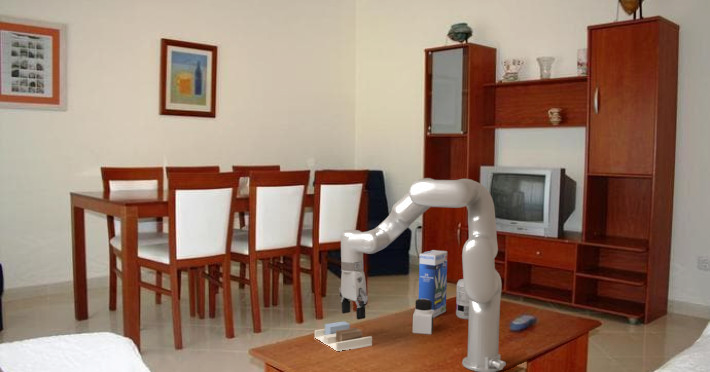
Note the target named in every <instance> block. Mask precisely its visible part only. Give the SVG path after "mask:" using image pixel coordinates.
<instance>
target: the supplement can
mask: <svg viewBox="0 0 710 372" xmlns="http://www.w3.org/2000/svg"><path fill="white" fill-rule="evenodd" d="M455 297H456V299H455V300H456V302H455V304H456V307H455V315H456V316H457V318H459V319H461V320H462V319H463V320H469V301H470V299H469V298H468V296H467V295H466V293H465V290H464V280H463V278H461V279H458V281H457V283H456V296H455Z"/></svg>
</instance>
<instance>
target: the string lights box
mask: <svg viewBox="0 0 710 372" xmlns="http://www.w3.org/2000/svg"><path fill="white" fill-rule="evenodd" d="M418 264H419V265H418V268H419V269H418V270H419V271H418V273H419V274H418V279H419V280H418V299H428V300H430V301H431V302H432V310H431V311H433V319H434V318H436V317H438V316H440V315H441V314H444V313H445V312H447V284H448V283H447V282H448V281H447V280H448V279H447V278H448V276H447V275H448V274H447V273H448V251H447V250H439V249H438V250H436V249H432V250H430V251H429V250H428V251H424V252H423V253H422V252H421V253H419V263H418Z"/></svg>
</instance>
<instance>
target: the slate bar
mask: <svg viewBox="0 0 710 372" xmlns="http://www.w3.org/2000/svg"><path fill="white" fill-rule="evenodd" d="M350 327H351V324H350V323H349V322H346V321H337V322H330V323H324V329H325V335H329V334H335V333H336V331H338V330H344V329H350Z"/></svg>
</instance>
